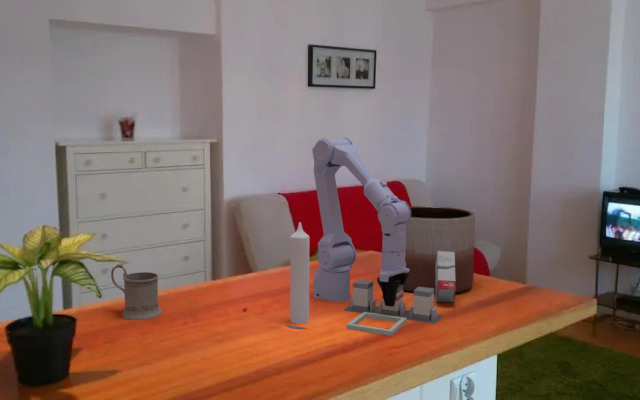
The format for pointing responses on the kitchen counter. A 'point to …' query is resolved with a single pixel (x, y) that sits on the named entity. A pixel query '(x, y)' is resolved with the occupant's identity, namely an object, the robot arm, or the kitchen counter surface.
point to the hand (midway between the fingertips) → (392, 303)
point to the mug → (139, 294)
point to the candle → (299, 278)
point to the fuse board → (403, 312)
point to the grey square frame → (390, 332)
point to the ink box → (445, 276)
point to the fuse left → (362, 294)
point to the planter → (439, 245)
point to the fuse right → (423, 303)
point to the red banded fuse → (396, 308)
